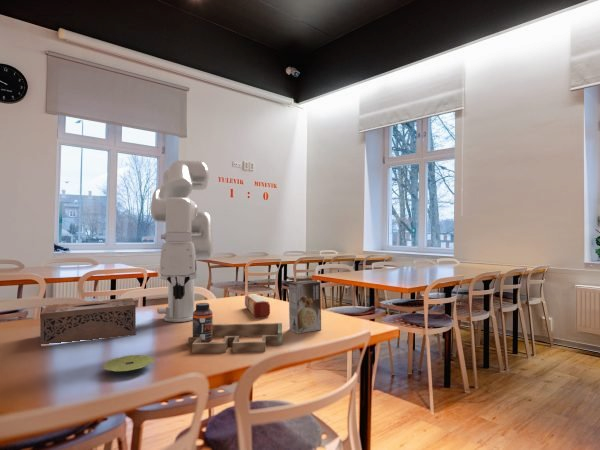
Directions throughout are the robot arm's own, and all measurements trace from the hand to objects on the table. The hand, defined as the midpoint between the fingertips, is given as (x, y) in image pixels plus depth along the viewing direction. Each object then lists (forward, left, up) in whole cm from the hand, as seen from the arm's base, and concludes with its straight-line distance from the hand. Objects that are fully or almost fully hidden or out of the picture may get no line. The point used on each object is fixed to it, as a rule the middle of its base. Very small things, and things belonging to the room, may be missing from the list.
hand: (179, 298), depth 116 cm
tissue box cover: (-31, +10, -14) cm, 35 cm away
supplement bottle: (+7, 0, -13) cm, 15 cm away
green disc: (-6, -23, -13) cm, 27 cm away
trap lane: (+18, -3, -13) cm, 22 cm away
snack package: (+21, +38, -13) cm, 45 cm away
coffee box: (+39, +10, -13) cm, 42 cm away
